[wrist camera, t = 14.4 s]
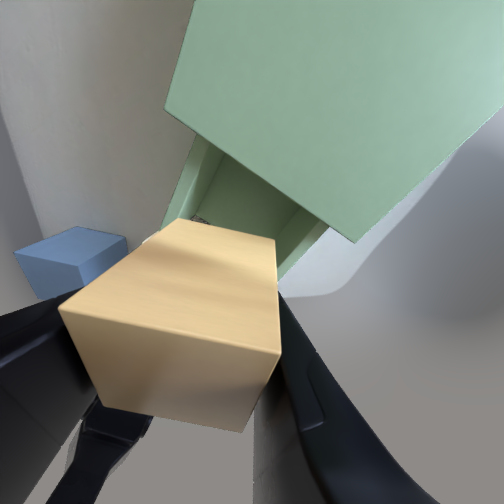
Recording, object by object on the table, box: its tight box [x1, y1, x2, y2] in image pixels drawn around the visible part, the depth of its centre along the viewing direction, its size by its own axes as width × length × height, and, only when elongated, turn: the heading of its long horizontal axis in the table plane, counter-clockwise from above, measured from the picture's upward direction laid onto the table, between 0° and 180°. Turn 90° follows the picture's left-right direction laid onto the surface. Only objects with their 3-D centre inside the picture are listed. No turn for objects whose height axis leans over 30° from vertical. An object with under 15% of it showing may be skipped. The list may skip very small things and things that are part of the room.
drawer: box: [141, 134, 330, 282], centre depth 15 cm, size 17×10×6 cm, turn 148°
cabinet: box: [164, 0, 504, 243], centre depth 10 cm, size 14×12×8 cm
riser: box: [13, 227, 128, 300], centre depth 20 cm, size 6×6×6 cm
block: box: [58, 218, 281, 433], centre depth 7 cm, size 4×4×5 cm
